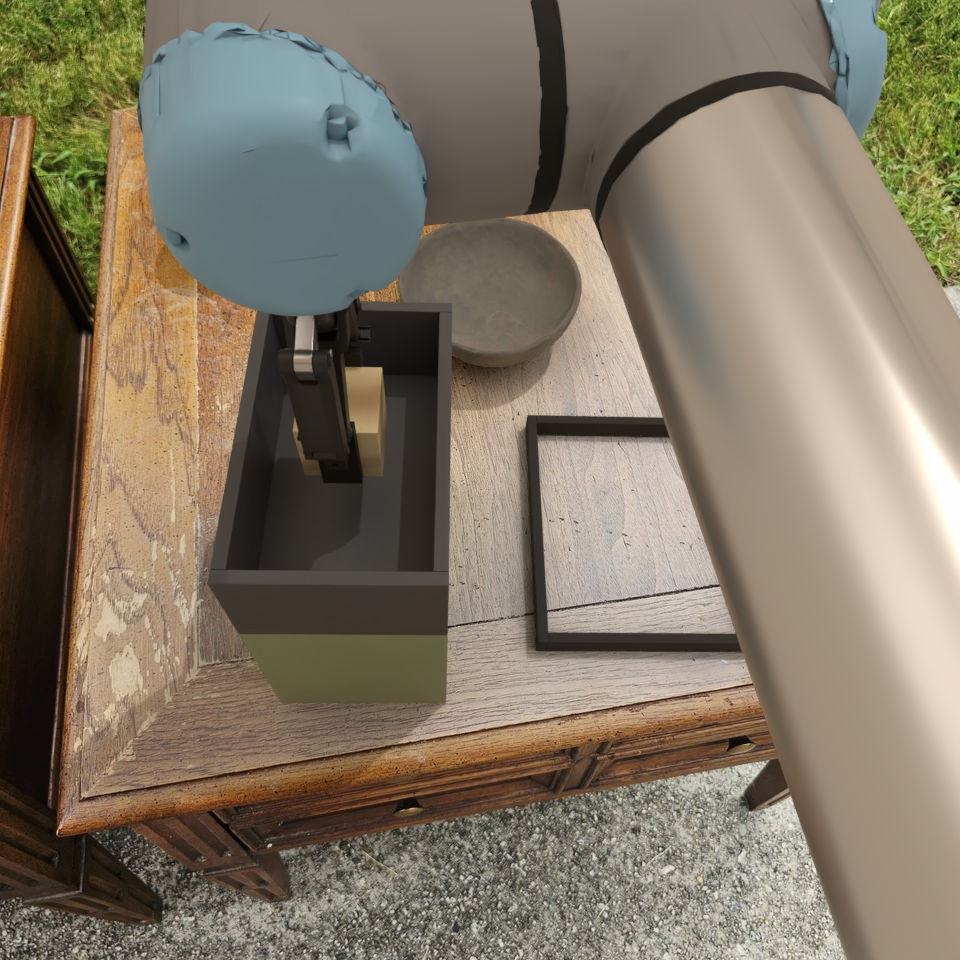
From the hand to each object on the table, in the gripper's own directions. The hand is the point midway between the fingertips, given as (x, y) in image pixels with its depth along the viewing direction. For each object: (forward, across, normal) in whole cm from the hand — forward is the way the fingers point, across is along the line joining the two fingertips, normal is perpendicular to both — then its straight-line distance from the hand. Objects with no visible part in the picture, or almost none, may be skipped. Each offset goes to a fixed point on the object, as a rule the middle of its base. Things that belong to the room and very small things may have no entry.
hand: (346, 441), depth 57 cm
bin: (+7, 0, 0) cm, 7 cm away
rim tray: (+25, -6, +27) cm, 37 cm away
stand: (+25, 0, 0) cm, 25 cm away
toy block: (0, 0, 0) cm, 0 cm away
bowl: (+25, -34, +12) cm, 44 cm away
